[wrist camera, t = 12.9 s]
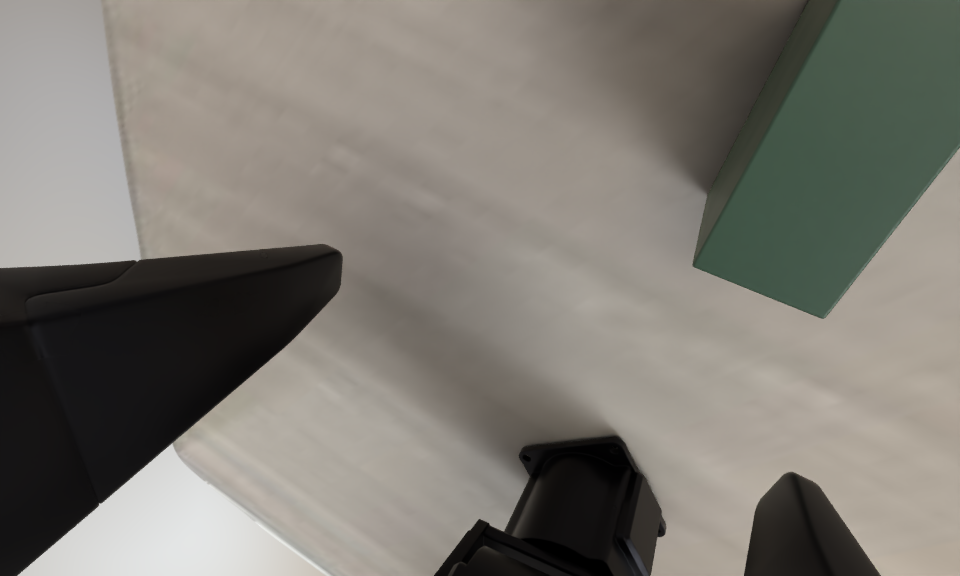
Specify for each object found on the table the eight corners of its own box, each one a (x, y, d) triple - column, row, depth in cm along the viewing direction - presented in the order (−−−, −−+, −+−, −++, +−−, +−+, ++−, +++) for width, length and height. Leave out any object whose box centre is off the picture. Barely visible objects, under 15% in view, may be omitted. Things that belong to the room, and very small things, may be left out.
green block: (799, 229, 18) (824, 321, 12) (706, 196, 19) (690, 267, 13) (940, 16, 14) (1072, 7, 8) (815, -14, 15) (859, -40, 9)
